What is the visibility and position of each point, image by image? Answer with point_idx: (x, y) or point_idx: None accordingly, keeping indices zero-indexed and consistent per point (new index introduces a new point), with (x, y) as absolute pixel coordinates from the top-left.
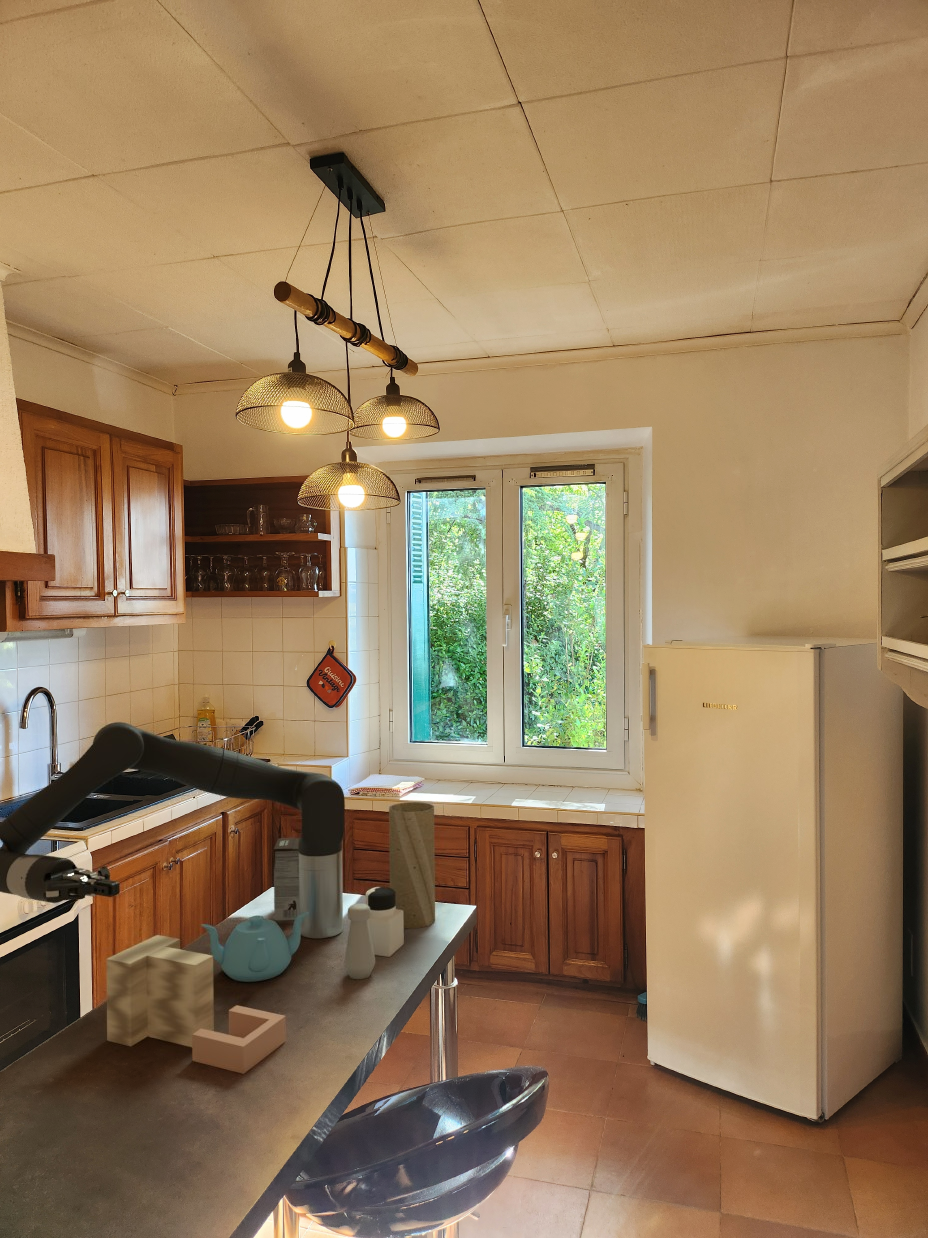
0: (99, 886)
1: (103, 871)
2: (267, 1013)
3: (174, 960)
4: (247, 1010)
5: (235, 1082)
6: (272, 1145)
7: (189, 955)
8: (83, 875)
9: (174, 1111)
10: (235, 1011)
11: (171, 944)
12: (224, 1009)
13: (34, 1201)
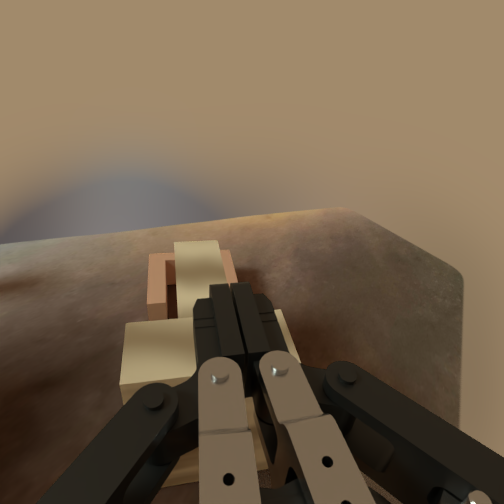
0: (278, 322)
1: (95, 488)
2: (152, 268)
3: (221, 267)
4: (155, 286)
5: (243, 271)
6: (284, 221)
7: (191, 263)
8: (294, 443)
9: (310, 280)
10: (164, 294)
11: (156, 321)
12: (93, 387)
13: (445, 280)
